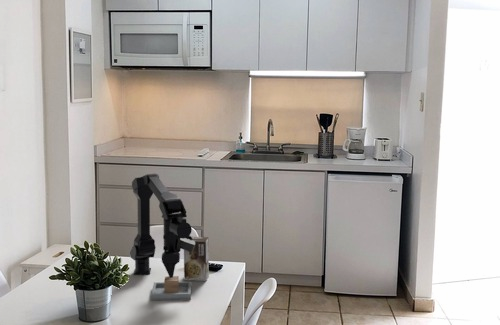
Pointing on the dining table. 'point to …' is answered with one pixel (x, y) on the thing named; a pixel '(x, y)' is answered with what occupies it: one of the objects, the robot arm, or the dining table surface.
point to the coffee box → (197, 260)
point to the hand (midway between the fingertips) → (171, 273)
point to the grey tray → (181, 295)
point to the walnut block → (171, 284)
